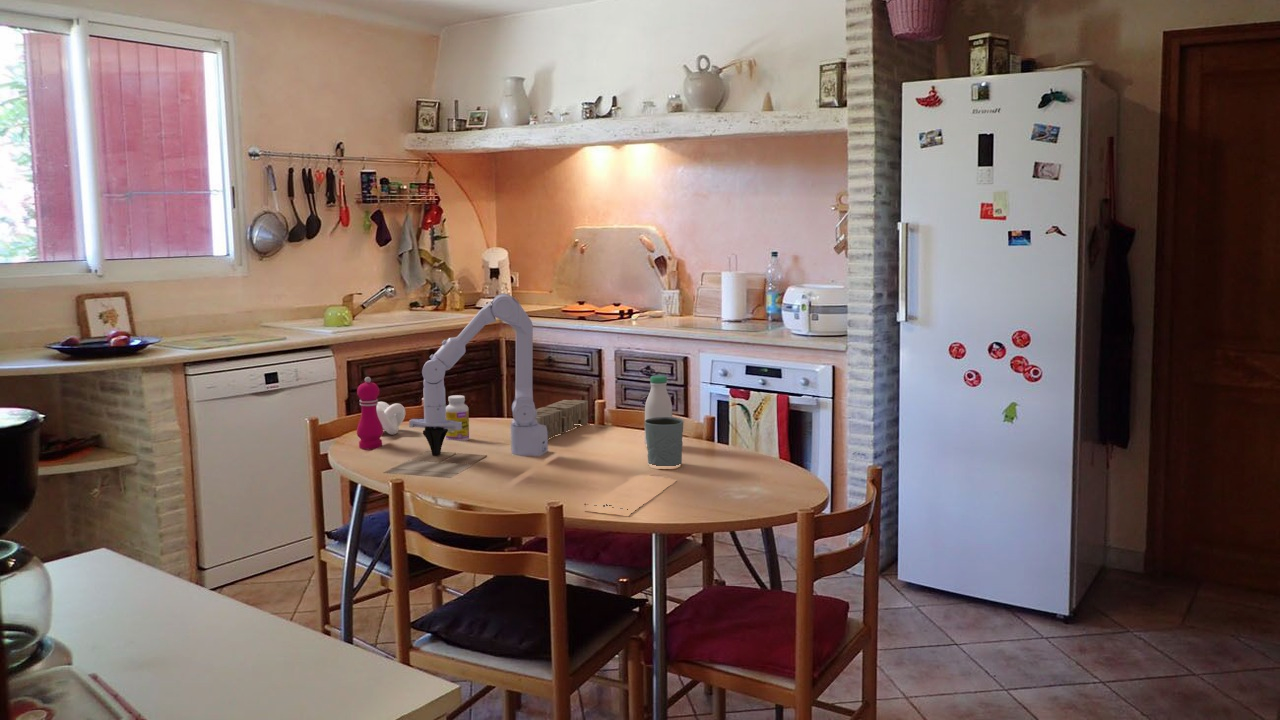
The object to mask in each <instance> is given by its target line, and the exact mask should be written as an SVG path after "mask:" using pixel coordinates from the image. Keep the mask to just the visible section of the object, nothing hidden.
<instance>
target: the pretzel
mask: <svg viewBox="0 0 1280 720" xmlns="http://www.w3.org/2000/svg"><path fill="white" fill-rule="evenodd" d="M376 410H377V415H378V418H379V420H380V422H381V424H382V427H383V431H385V432H386V433H387V434H389V435H392V436H394V435H397V434H398V432H399V426H401V424H402V423H403V422H404V420H405V416H406V408H405V407H404V406H403V404H401V403H392V404H389V403H387V402H385V401H378V404H377V406H376Z"/></svg>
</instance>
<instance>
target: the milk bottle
mask: <svg viewBox="0 0 1280 720" xmlns="http://www.w3.org/2000/svg"><path fill="white" fill-rule="evenodd" d="M649 380H650V381H649V382H650V384H649V385H650V390H649V394H648V396H647V398H646V400H645V404H644V421H645V420H647V419H650V418H657V417H673V405H672V404H673V403H672V401H671V400H672V399H671V398H670V395H669V393H668V390H667V384H668V383H667V382H668V378H667V376H666V375H660V374H659V375H658V374H656V375H651V376H650V379H649ZM645 444H647V440H646V431H645V430H644V445H645Z"/></svg>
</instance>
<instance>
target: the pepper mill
mask: <svg viewBox="0 0 1280 720" xmlns="http://www.w3.org/2000/svg"><path fill="white" fill-rule="evenodd" d="M356 394H357V396H358V398H359V406H361V415H360V419H359V422H358V424H357V428H356V435H357V437H358V438H359V439H360V440H359V442H358V447H359V449H361V448H362V450H377V449H379V448H381V447H383V440H382V439H381V437H382V436H383V435H384V430H383V427H382V424H381V422H380V420H379V418H378V415H377V410H376V406H377V404H378V402H379V399H378V396H379V395H380V388H379V386H378V385H377V384H376V383H375V382H372V379H371V377H370V376H366V377H365V378H364V382H363V383H361V384H360V385H358V387H357V388H356ZM376 448H377V449H376Z"/></svg>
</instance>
